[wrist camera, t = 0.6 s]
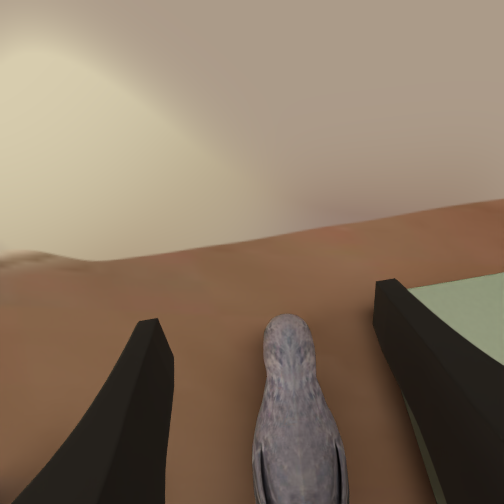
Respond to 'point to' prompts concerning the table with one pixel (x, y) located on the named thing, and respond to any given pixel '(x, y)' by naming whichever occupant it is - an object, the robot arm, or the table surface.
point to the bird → (295, 425)
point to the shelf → (464, 330)
